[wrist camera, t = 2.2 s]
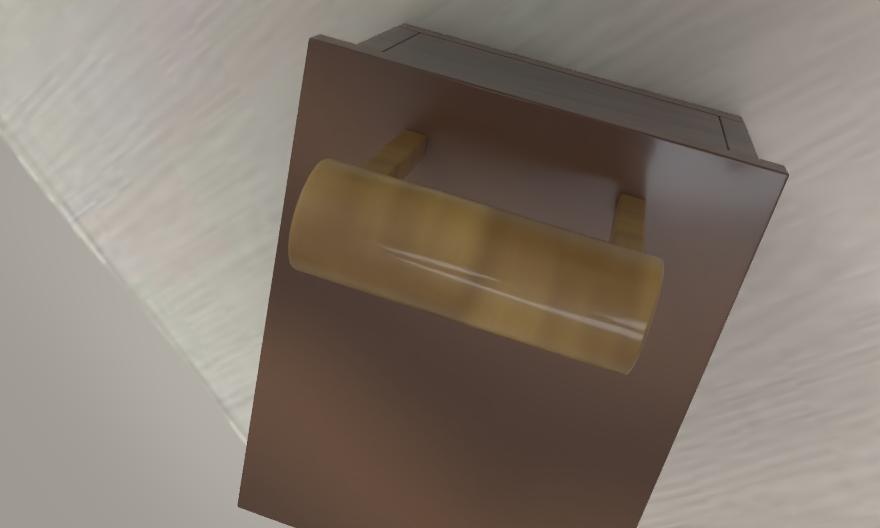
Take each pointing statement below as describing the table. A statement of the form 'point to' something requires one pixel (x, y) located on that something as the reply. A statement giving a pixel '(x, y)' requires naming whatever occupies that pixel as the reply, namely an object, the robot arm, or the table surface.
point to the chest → (566, 86)
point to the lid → (486, 302)
